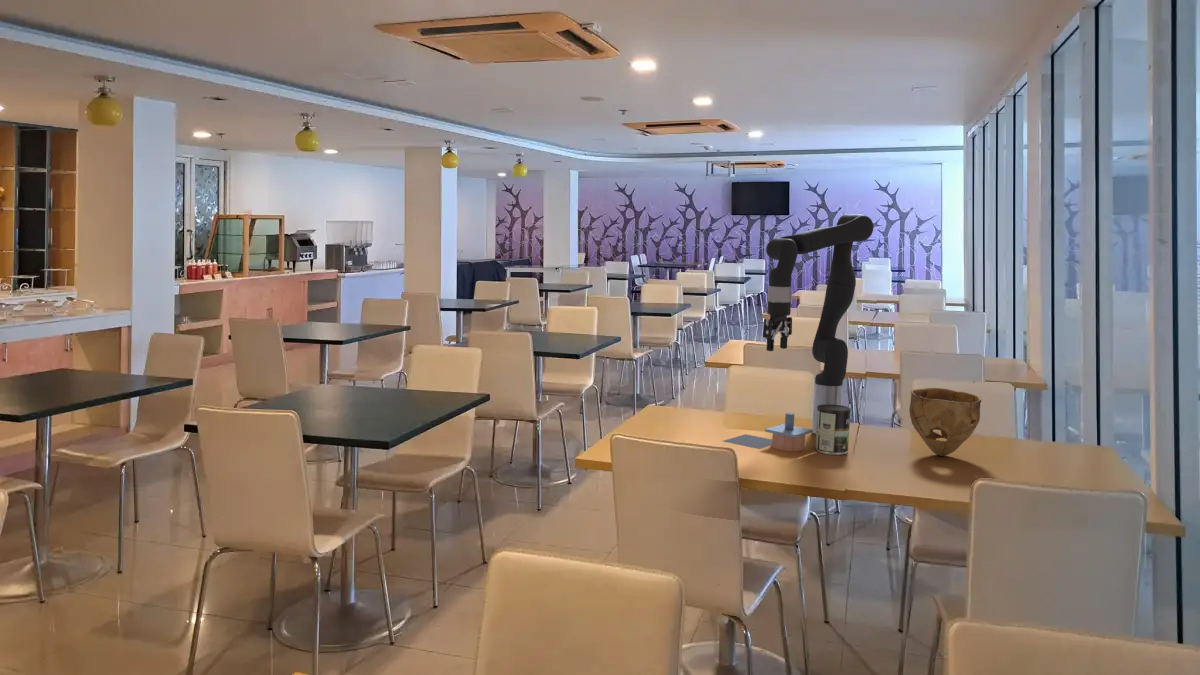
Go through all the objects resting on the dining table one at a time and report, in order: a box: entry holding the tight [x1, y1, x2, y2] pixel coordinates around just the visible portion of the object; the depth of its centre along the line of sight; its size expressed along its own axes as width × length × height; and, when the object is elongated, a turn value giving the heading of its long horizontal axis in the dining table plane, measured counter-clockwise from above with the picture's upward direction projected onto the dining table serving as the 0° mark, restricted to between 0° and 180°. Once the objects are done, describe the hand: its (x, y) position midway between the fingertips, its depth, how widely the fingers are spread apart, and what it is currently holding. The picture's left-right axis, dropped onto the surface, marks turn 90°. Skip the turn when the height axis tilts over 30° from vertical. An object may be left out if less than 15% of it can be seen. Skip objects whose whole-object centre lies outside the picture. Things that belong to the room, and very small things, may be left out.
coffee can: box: [815, 404, 852, 456], centre depth 295 cm, size 10×10×14 cm
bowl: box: [908, 387, 982, 457], centre depth 292 cm, size 21×20×20 cm
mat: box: [723, 433, 772, 450], centre depth 303 cm, size 14×14×1 cm
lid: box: [764, 412, 813, 438], centre depth 296 cm, size 11×11×6 cm
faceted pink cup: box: [771, 433, 806, 452], centre depth 296 cm, size 10×10×6 cm
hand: (776, 349), depth 304 cm, fingers open, 8 cm apart
